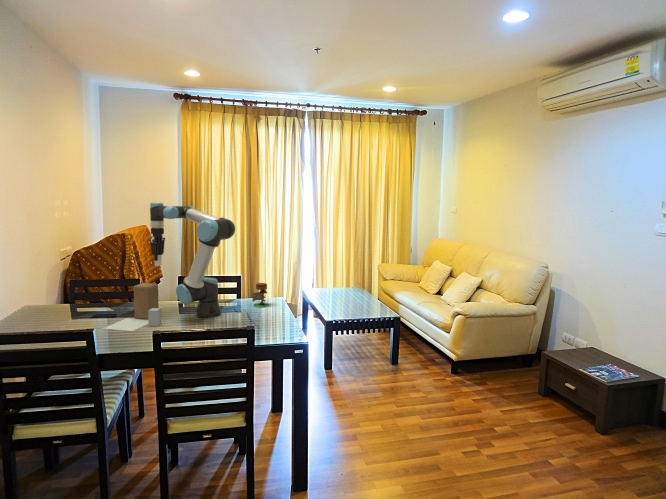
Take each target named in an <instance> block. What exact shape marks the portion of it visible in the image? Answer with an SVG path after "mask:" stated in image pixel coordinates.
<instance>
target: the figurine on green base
mask: <svg viewBox="0 0 666 499" xmlns="http://www.w3.org/2000/svg"><path fill="white" fill-rule="evenodd" d="M255 289H256V290H257V292H253V293H252V303H254V302H255V301H259V302H257V303H254V304H253V305H254V306H255V308H267V307H266V306H268V307H270V303H267V302H266V300H265V299H266V296H265V294H268V291H267V290H268V284H267V283H266V282H265V283H264V282H257V283H256V284H255ZM258 291H259V292H258ZM254 306H253V307H254Z"/></svg>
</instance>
